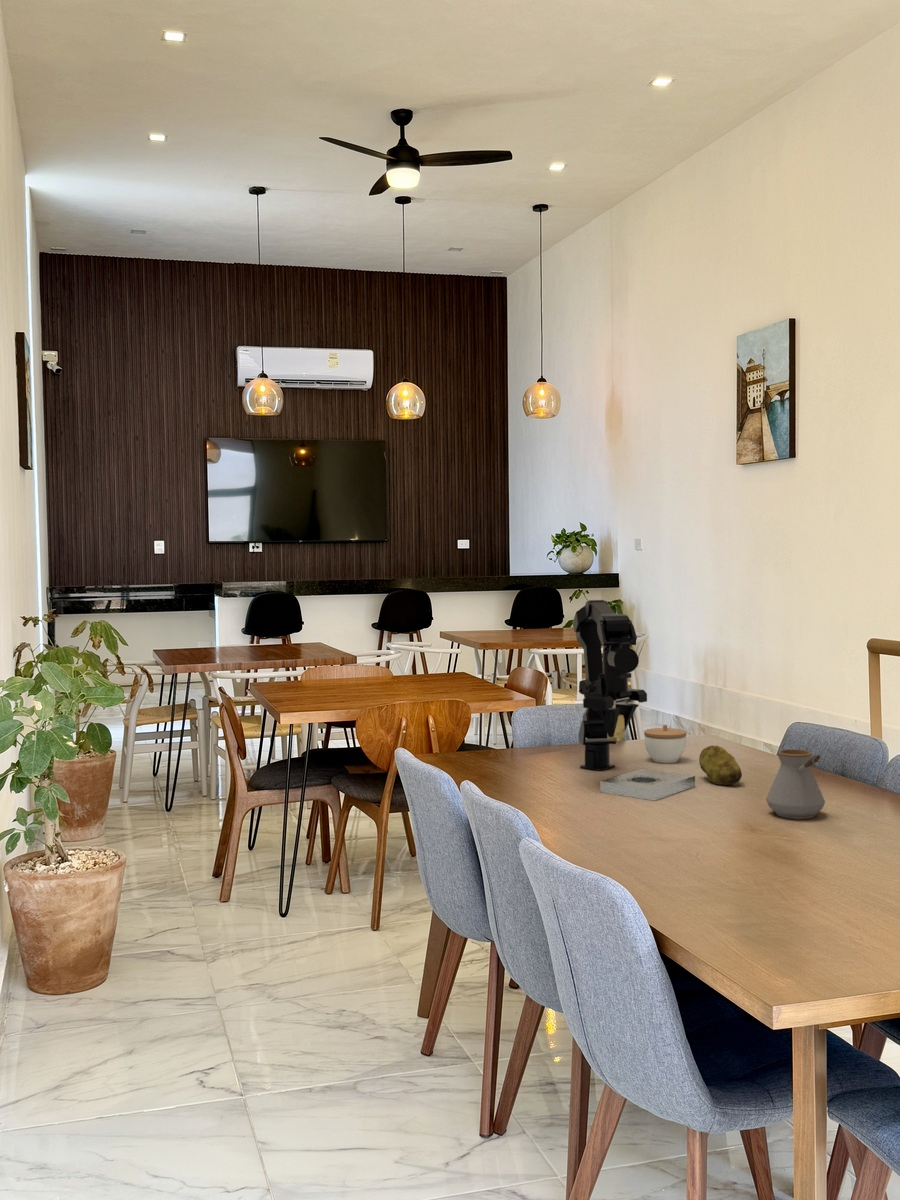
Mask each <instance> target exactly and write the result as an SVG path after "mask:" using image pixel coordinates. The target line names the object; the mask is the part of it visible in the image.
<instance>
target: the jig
mask: <svg viewBox="0 0 900 1200" xmlns="http://www.w3.org/2000/svg"><path fill="white" fill-rule="evenodd" d="M599 785H600V787H599V788H600V789H599V790H600V793H603V794H609V795H617V796H622V797H623V796H625V797H628V798H636V799H640V800H641V799H643V800H648V801H657V800H660V799H664V798H667V797H670V796H672V795H675V794H678V793H681V792H683V791H686V790H689V789H692V788H695V787H696V775H692V774H685V773H677V772H670V771H662V770H655V769H650V768H649V769H647V768H640V769H636V770H633V771H629V772H627V773H623V774H619V775H617V776H613V777H609V778H607V779H603V780H600V783H599Z"/></svg>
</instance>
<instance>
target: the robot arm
mask: <svg viewBox="0 0 900 1200" xmlns="http://www.w3.org/2000/svg"><path fill="white" fill-rule="evenodd" d="M572 629H573V631H574V633H575V636H576V637H575V639H576V641H577V642H578V644H579V645H580V646H581V648H582V649H583V658H584V670H585V679H583V680H579V683H578V689H579V690H578V693H579V694H581V695H583V699H582V707H583V708H584V709H585V711H584V713H583V714H582V720H581V722H580V723H581V724H580V726H579V731H578V742H579V744H581V745H582V746H584V764H581V765H580V768H581V769H589V770H595V771H605V770H608V769H611V768H614V767H615V764H612V763H610V745H612V744H613V745H616V744H617V741H608V740H607V734H608V736H609V737H613V736H614V732H615V729H616V724H617V720H618V716H619V714H624V721H625V731H626V729H627V727H628V726H629V723H630V721H631V720H632V717H633V715H634V713H635V711H636V709H637V708H638V707H639V704H637V703H634V701H636V702H638V703H645V702H648V693H647V692H646V691H645V690H644V689H641V688H640V689H639V688H638V689H637V688H629V680H628V679H630V678H632V672H634V671H635V670H636V669H637V668H638V665H639V661H640V660H639V658H640V657H639V656H638V653H637V652H636V651H635V650H634V649H632V648H631V646H637V640H638V635H637V633H636V629H635V626H634V624H633V622H632V619H630V617H629V616H628V615H627V614H624V613H623V614H622V613H616V612H615V611H614V610H613V609H612V608H611V607H610V606H609V605H608V602H607V600H604V599H590V600H587V601H586V602H585V604H584V606H582V607H581V608H580V609H579V610H577V611H576V612H575V614H574V617H573V622H572Z"/></svg>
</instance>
